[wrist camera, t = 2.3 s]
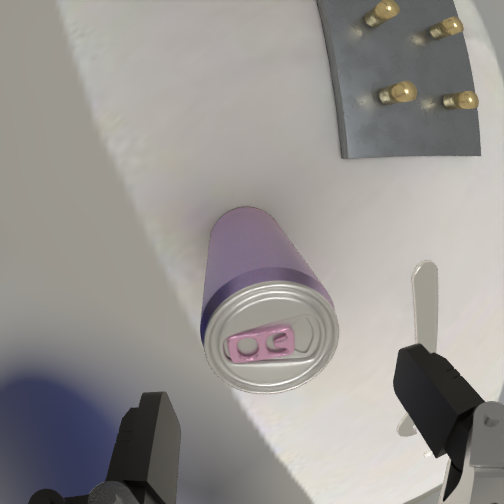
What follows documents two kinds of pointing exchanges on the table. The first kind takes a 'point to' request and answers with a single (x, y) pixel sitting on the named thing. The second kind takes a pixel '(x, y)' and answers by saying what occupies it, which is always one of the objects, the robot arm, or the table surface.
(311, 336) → the beverage can
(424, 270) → the wrench
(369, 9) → the chassis plate
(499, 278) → the table surface
